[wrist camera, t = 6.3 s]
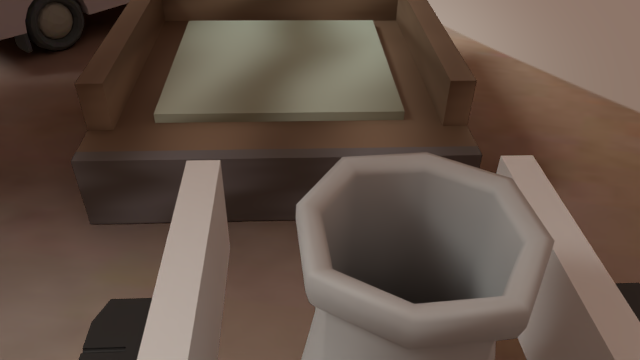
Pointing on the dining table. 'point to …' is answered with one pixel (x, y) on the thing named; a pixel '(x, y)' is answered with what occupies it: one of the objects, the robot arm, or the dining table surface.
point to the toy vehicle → (48, 21)
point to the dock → (262, 100)
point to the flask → (417, 259)
